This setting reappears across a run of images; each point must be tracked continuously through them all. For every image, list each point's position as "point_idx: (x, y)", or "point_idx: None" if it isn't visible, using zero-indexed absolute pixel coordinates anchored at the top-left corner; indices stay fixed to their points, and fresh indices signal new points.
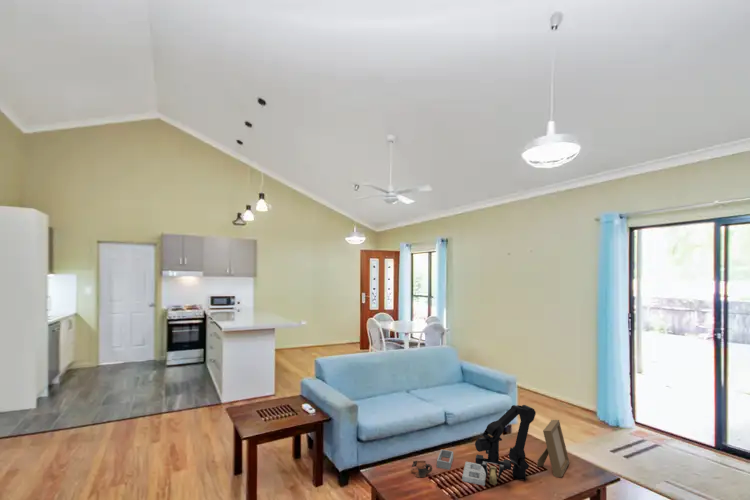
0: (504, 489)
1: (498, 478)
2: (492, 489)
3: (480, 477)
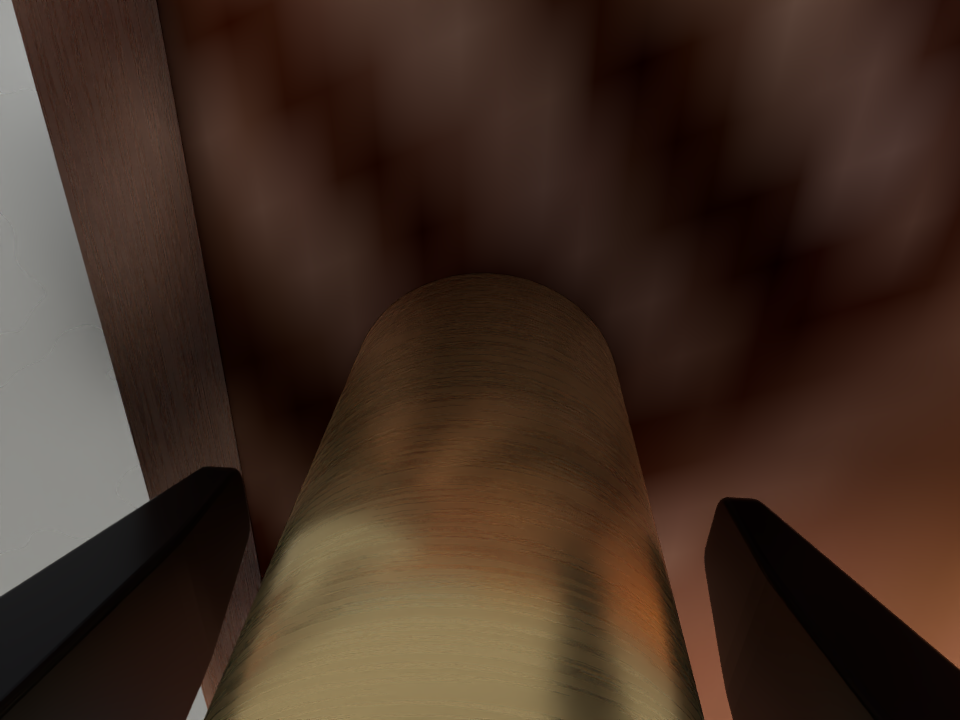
0: None
1: (719, 616)
2: None
3: None
